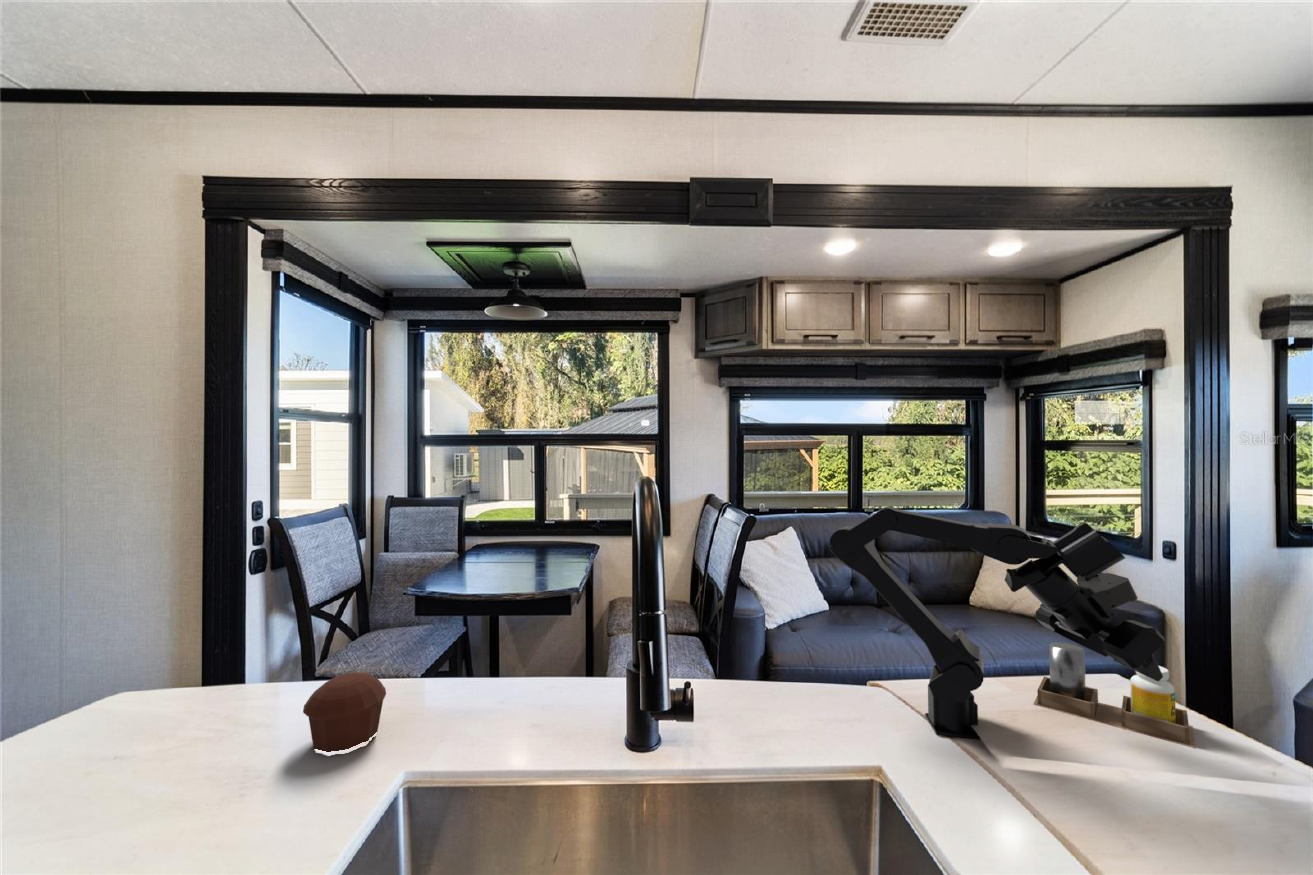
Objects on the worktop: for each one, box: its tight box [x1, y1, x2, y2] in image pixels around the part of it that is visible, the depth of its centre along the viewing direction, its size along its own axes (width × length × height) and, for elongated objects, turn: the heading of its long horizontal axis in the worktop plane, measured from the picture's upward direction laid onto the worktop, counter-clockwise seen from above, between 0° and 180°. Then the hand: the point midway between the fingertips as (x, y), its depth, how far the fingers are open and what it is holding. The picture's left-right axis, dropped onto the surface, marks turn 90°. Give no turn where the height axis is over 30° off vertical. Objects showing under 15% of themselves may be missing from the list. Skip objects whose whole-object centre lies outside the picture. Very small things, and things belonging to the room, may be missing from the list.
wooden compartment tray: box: [1032, 676, 1196, 749], centre depth 90 cm, size 20×9×4 cm, turn 46°
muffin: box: [302, 671, 387, 752], centre depth 84 cm, size 12×11×10 cm
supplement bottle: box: [1129, 665, 1176, 724], centre depth 86 cm, size 5×5×10 cm
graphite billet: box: [1048, 641, 1087, 701], centre depth 94 cm, size 5×5×10 cm
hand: (1132, 666), depth 81 cm, fingers open, 9 cm apart
